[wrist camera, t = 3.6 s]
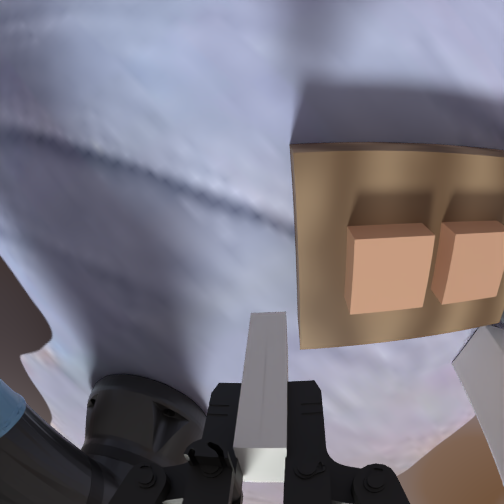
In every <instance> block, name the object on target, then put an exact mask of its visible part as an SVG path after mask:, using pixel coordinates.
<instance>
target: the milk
mask: <svg viewBox="0 0 504 504" xmlns="http://www.w3.org/2000/svg"><path fill="white" fill-rule="evenodd" d="M452 366H453V368H454V370H455V372H456V374H457V376H458V378H459V380H460V382H461V384H462V386H463V388H464V390H465V392H466V394H467V396H468V399H469V401H470V403H471V405H472V407H473V409H474V412H475V414H476V416H477V418H478V421H479V423H480V425H481V427H482V430H483V432H484V435H485V437H486V440H487V442H488V445H489V447H490V450H491V452H492V455H493V457H494V460H495V463H496V465H497V468H498V471H499V474H500V476H501V479H502V482H503V485H504V329H501V328H498V327H495V326H492V325H486V326H481V327H479V328H478V329H477V331H476V332H475V334H474V335H473V336H472V338H471V339H470V340H469V342H468V343H467V344H466V346H465V347H464V348H463V350H462V351H461V352H460V354H459V355H458V356H457V357H456V359H455V360H454V361H453V362H452Z"/></svg>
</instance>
